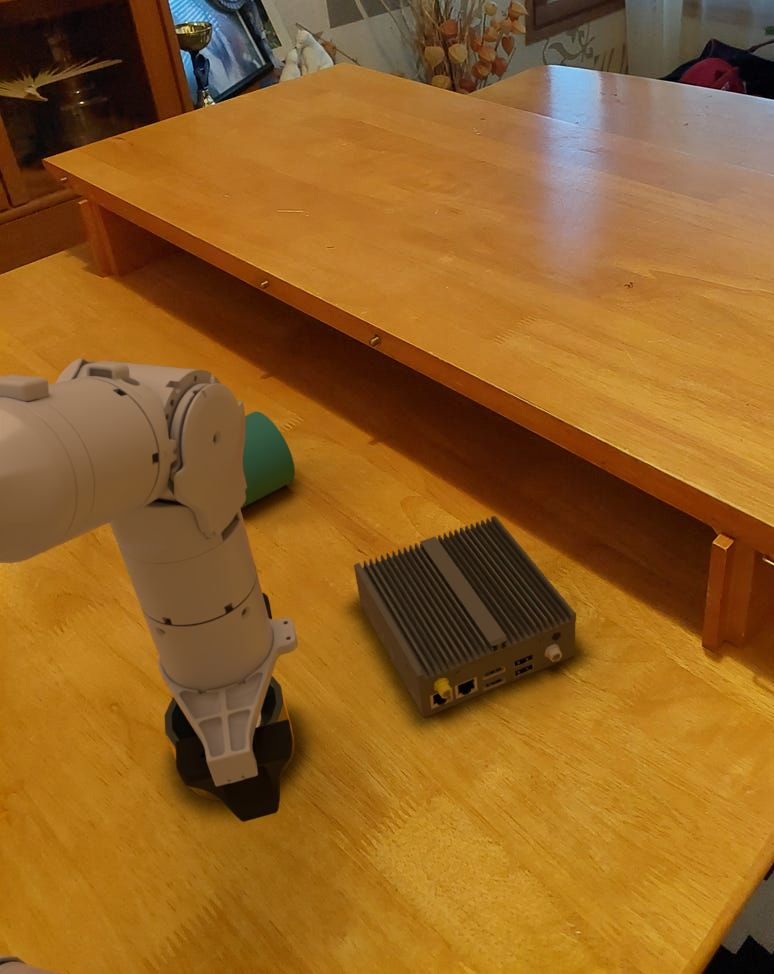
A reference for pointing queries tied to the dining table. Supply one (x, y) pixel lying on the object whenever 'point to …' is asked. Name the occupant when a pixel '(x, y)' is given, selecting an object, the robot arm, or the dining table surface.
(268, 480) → the tape dispenser
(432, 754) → the dining table surface
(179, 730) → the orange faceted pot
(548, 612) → the electronic device
